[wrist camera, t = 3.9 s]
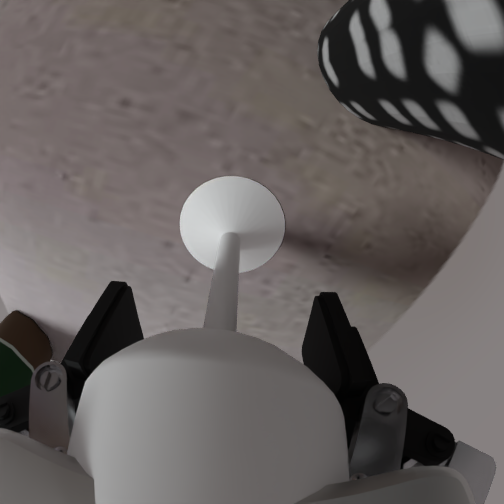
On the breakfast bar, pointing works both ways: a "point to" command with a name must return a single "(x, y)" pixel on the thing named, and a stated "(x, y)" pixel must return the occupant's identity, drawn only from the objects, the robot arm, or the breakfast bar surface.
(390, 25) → the spotted tube
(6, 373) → the beer bottle
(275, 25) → the breakfast bar surface
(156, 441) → the champagne flute
